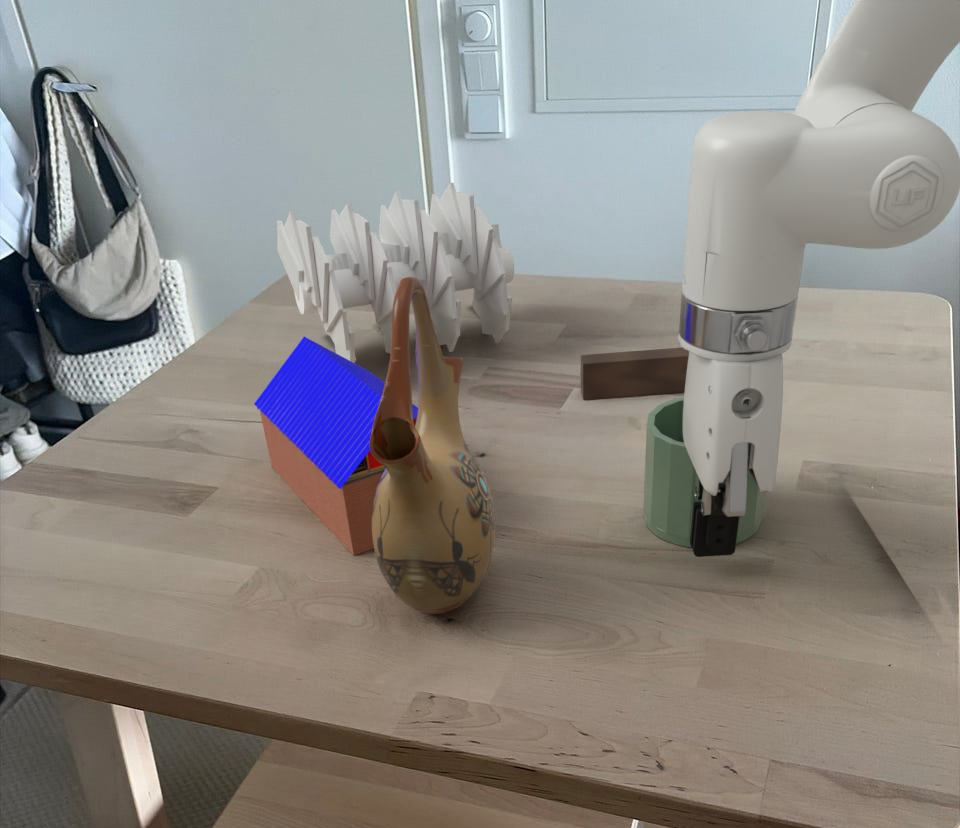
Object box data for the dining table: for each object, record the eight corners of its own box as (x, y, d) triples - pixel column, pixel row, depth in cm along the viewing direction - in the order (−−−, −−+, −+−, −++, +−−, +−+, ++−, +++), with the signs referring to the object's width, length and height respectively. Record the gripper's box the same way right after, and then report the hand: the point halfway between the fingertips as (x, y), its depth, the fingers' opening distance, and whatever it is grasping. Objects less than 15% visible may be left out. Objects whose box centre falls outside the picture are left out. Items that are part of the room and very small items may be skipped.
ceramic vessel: (477, 664, 74) (448, 326, 59) (357, 656, 76) (298, 325, 61) (515, 542, 87) (499, 237, 71) (412, 537, 88) (374, 238, 73)
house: (351, 558, 86) (330, 431, 79) (267, 467, 100) (242, 352, 93) (475, 515, 91) (465, 390, 84) (377, 433, 105) (362, 321, 98)
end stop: (711, 380, 110) (714, 344, 107) (716, 390, 108) (719, 353, 105) (580, 390, 110) (580, 354, 107) (583, 400, 108) (583, 363, 105)
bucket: (759, 491, 91) (770, 396, 85) (762, 551, 83) (774, 451, 78) (646, 487, 93) (650, 393, 87) (640, 545, 85) (643, 447, 80)
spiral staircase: (522, 375, 124) (321, 413, 116) (469, 274, 131) (277, 303, 123) (556, 251, 108) (326, 285, 100) (493, 144, 115) (275, 168, 107)
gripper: (826, 359, 63) (786, 603, 74) (762, 279, 75) (736, 499, 86) (705, 367, 63) (683, 609, 74) (660, 285, 75) (647, 505, 86)
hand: (711, 550), depth 80 cm, fingers closed
